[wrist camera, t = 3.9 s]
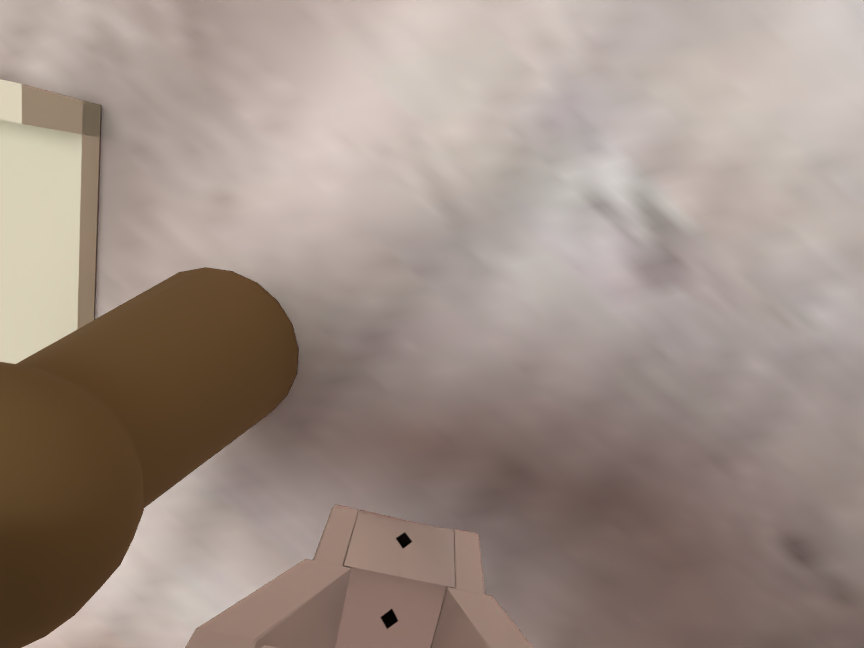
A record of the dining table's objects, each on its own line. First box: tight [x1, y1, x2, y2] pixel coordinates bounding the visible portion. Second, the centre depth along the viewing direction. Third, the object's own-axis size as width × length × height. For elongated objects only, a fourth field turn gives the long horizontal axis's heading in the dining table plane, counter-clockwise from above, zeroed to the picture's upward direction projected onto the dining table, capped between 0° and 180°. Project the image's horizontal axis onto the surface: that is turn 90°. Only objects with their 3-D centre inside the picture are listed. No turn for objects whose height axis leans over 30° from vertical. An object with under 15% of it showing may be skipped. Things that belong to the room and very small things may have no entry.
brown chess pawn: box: [0, 268, 299, 648], centre depth 12 cm, size 6×6×11 cm
